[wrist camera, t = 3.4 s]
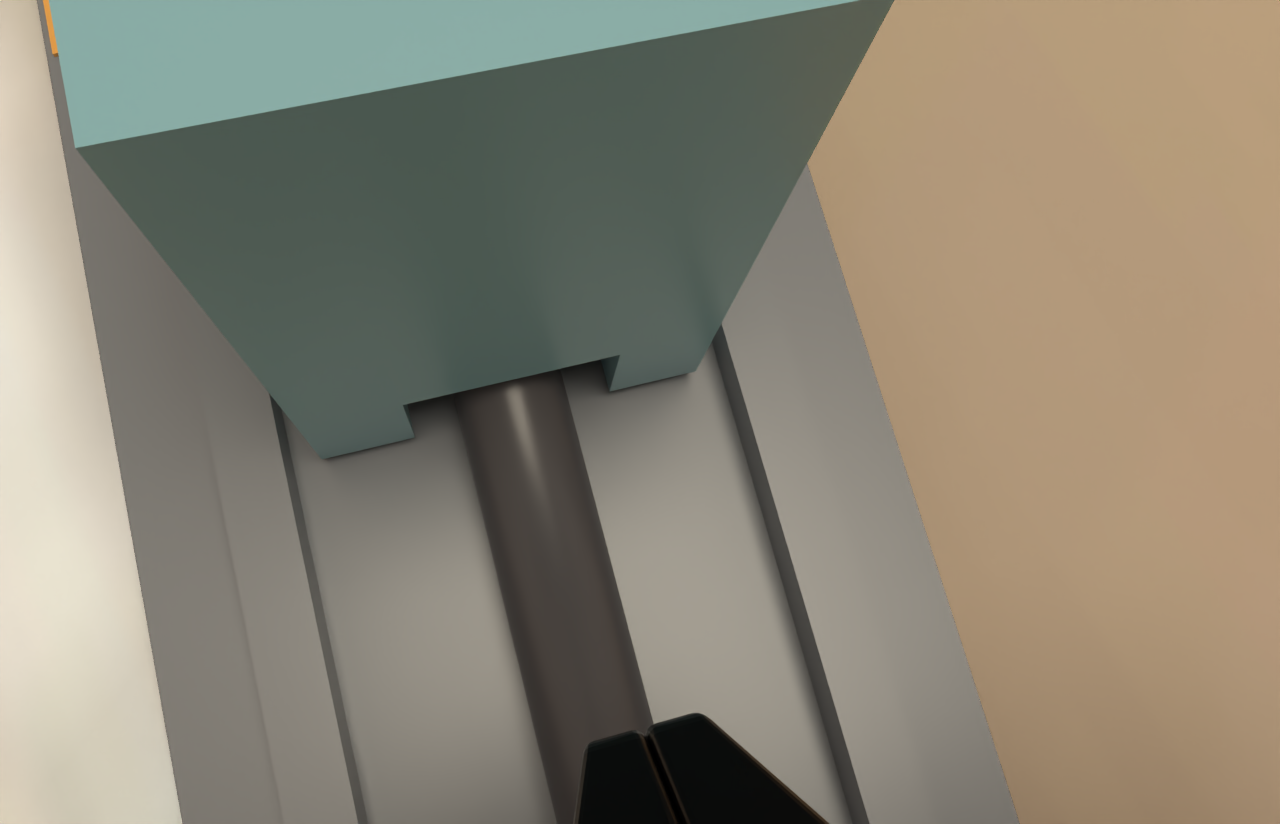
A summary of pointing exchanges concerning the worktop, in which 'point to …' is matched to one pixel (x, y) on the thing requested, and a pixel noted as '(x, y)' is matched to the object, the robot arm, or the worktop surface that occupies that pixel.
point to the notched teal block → (454, 178)
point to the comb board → (534, 565)
